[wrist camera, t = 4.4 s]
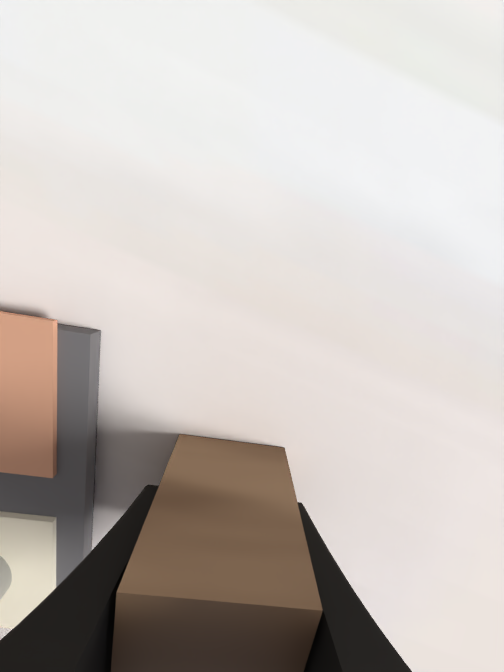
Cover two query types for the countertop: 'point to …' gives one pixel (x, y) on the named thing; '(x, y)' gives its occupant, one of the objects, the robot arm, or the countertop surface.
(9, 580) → the grey peg
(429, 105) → the countertop surface
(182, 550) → the walnut block
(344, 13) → the countertop surface
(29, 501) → the mat
